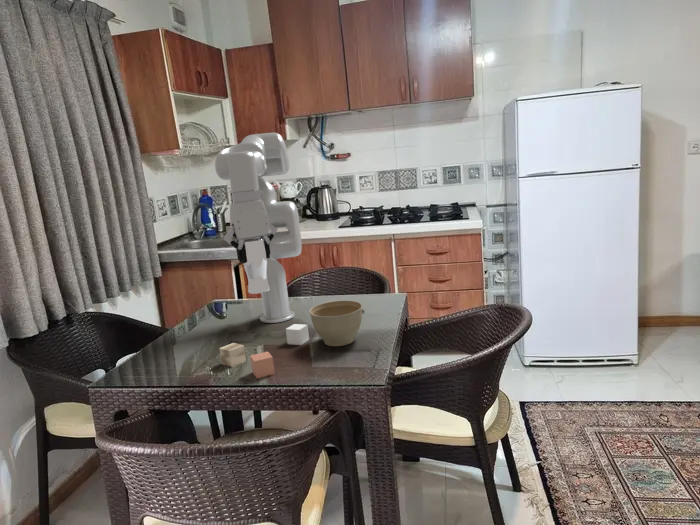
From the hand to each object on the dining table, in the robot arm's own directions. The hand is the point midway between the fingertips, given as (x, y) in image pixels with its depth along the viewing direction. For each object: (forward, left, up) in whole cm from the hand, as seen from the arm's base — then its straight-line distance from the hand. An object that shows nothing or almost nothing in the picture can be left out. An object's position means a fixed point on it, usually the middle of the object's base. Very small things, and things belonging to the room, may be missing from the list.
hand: (254, 259), depth 149 cm
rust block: (+10, -6, -30) cm, 32 cm away
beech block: (-4, -9, -30) cm, 31 cm away
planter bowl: (+5, +22, -30) cm, 37 cm away
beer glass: (0, 0, -9) cm, 9 cm away
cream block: (-5, +13, -30) cm, 33 cm away
